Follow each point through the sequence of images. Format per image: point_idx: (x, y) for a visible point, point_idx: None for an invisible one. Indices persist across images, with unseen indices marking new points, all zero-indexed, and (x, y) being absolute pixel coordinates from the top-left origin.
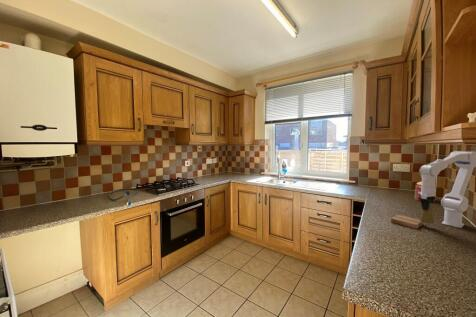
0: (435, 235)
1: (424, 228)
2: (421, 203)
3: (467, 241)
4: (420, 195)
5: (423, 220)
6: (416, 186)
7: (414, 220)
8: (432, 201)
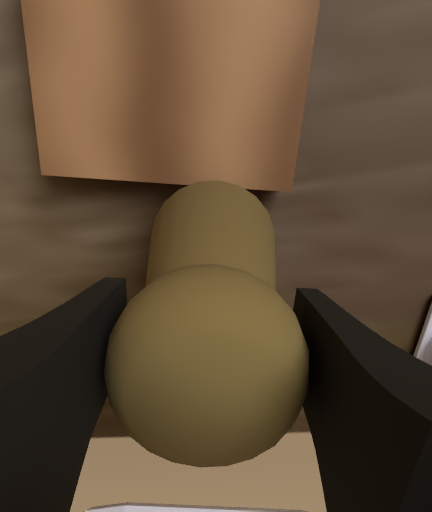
0: (47, 296)
1: (157, 212)
2: (11, 337)
3: (118, 424)
4: None
5: (154, 225)
6: None
7: (198, 123)
8: (324, 495)
